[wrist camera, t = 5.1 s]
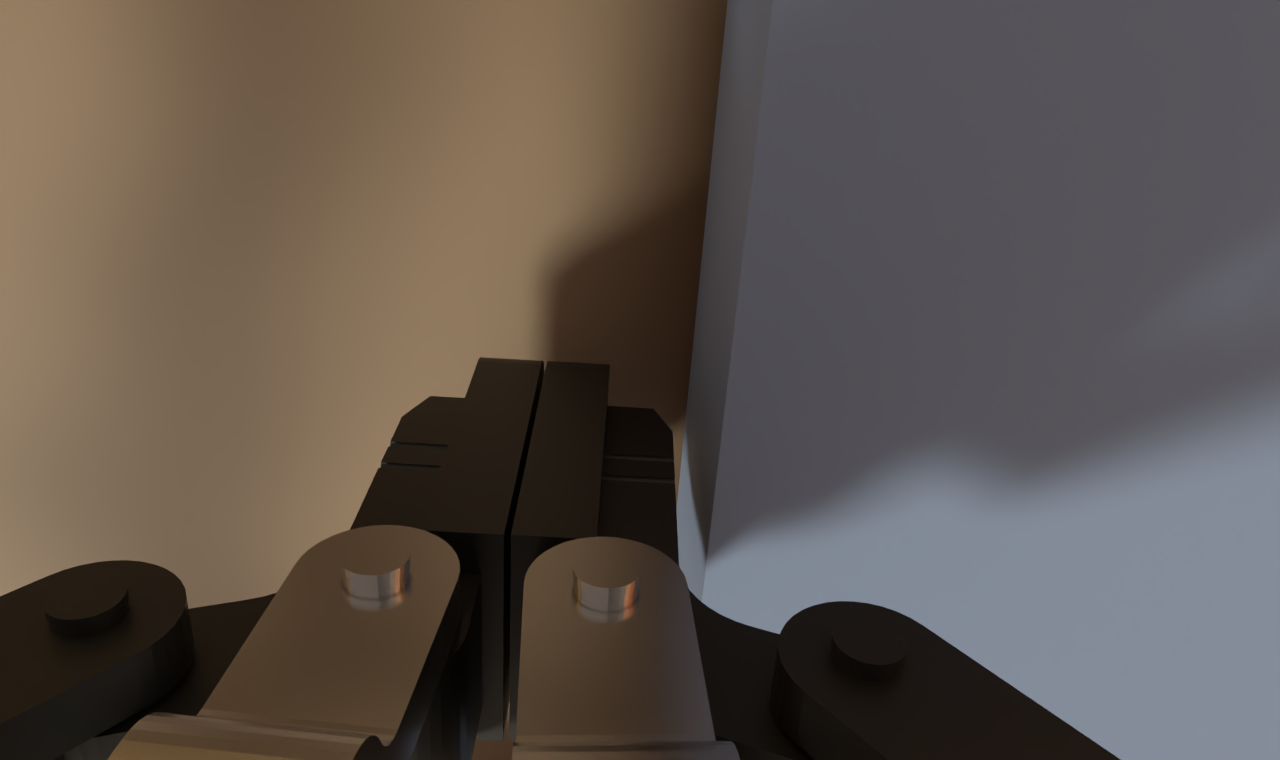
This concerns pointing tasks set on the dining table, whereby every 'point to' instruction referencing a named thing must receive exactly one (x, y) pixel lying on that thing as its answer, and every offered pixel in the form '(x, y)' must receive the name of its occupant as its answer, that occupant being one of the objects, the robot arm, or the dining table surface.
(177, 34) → the walnut tray
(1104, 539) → the cover plate
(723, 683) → the robot arm
